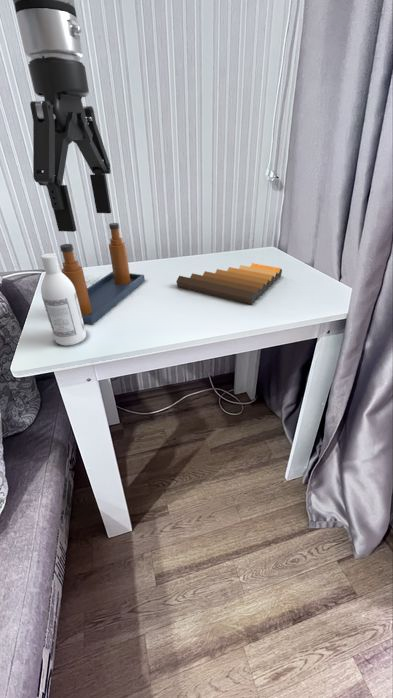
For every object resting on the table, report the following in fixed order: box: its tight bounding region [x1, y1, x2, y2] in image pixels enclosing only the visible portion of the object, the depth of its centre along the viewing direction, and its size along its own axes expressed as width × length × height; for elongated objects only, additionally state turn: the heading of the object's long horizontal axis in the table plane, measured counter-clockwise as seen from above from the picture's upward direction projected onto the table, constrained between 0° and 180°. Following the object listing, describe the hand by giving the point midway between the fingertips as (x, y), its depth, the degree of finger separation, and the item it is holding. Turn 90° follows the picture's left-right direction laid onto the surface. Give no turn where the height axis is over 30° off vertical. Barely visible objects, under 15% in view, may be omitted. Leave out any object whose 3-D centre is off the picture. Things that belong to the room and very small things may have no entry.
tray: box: [81, 271, 146, 326], centre depth 95 cm, size 30×12×2 cm, turn 162°
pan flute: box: [176, 262, 283, 306], centre depth 103 cm, size 25×3×25 cm
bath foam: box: [40, 252, 87, 347], centre depth 71 cm, size 7×7×20 cm
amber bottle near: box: [59, 243, 92, 315], centre depth 81 cm, size 5×5×18 cm
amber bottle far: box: [108, 222, 131, 285], centre depth 98 cm, size 5×5×18 cm
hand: (87, 221), depth 57 cm, fingers open, 13 cm apart
